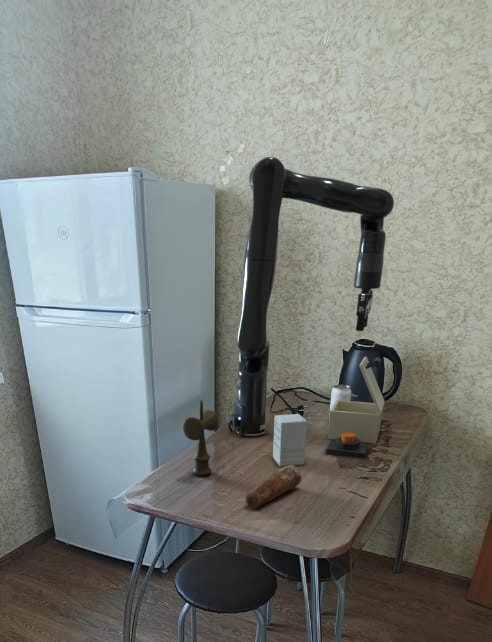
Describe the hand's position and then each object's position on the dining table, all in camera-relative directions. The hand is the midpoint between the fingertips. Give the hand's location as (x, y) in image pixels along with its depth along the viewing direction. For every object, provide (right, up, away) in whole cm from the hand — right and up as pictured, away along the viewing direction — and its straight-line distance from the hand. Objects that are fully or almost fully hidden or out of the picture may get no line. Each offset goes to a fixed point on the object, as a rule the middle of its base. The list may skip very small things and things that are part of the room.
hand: (361, 328), depth 173 cm
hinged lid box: (+1, -30, +11) cm, 32 cm away
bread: (-30, -53, -32) cm, 69 cm away
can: (-1, -24, +24) cm, 34 cm away
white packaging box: (-24, -41, -10) cm, 49 cm away
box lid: (+4, -16, +3) cm, 17 cm away
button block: (-5, -37, -3) cm, 38 cm away
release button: (-5, -35, -5) cm, 35 cm away
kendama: (-48, -46, -18) cm, 69 cm away
